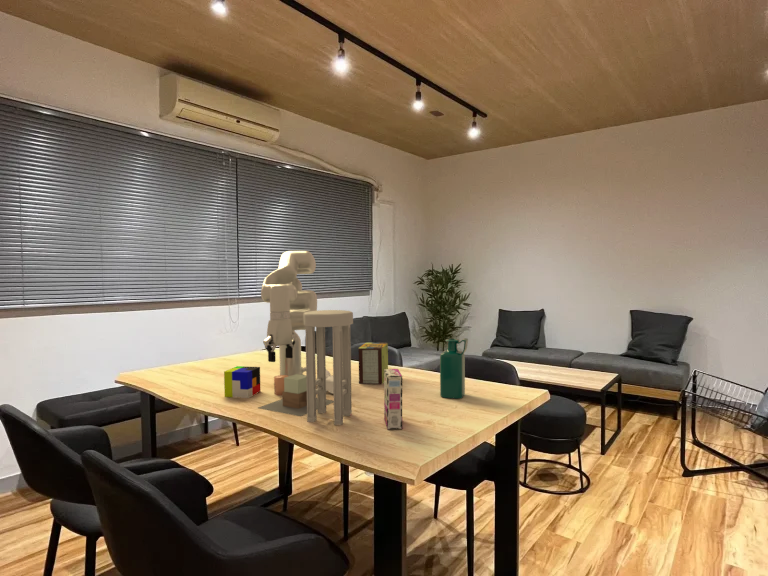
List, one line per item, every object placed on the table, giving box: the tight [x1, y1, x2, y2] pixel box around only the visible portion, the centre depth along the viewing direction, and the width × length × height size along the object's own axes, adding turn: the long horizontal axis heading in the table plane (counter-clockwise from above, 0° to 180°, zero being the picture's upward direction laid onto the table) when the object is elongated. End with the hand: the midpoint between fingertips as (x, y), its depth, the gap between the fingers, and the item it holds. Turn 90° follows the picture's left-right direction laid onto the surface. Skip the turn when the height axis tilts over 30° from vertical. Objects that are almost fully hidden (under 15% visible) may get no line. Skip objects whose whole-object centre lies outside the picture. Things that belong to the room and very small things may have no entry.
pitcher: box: [439, 337, 469, 400], centre depth 175 cm, size 10×8×22 cm
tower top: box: [284, 374, 307, 394], centre depth 165 cm, size 6×6×5 cm
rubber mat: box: [257, 397, 334, 417], centre depth 166 cm, size 20×20×1 cm
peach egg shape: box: [273, 374, 289, 396], centre depth 181 cm, size 6×6×7 cm
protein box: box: [357, 342, 389, 385], centre depth 203 cm, size 10×15×16 cm
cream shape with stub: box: [326, 369, 334, 395], centre depth 182 cm, size 9×8×15 cm
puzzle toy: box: [223, 365, 261, 399], centre depth 182 cm, size 10×10×10 cm
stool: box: [304, 309, 354, 426], centre depth 150 cm, size 16×16×35 cm
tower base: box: [281, 391, 307, 409], centre depth 166 cm, size 8×8×5 cm
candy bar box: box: [383, 368, 403, 430], centre depth 144 cm, size 11×5×16 cm, turn 5°
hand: (280, 359), depth 180 cm, fingers open, 9 cm apart
